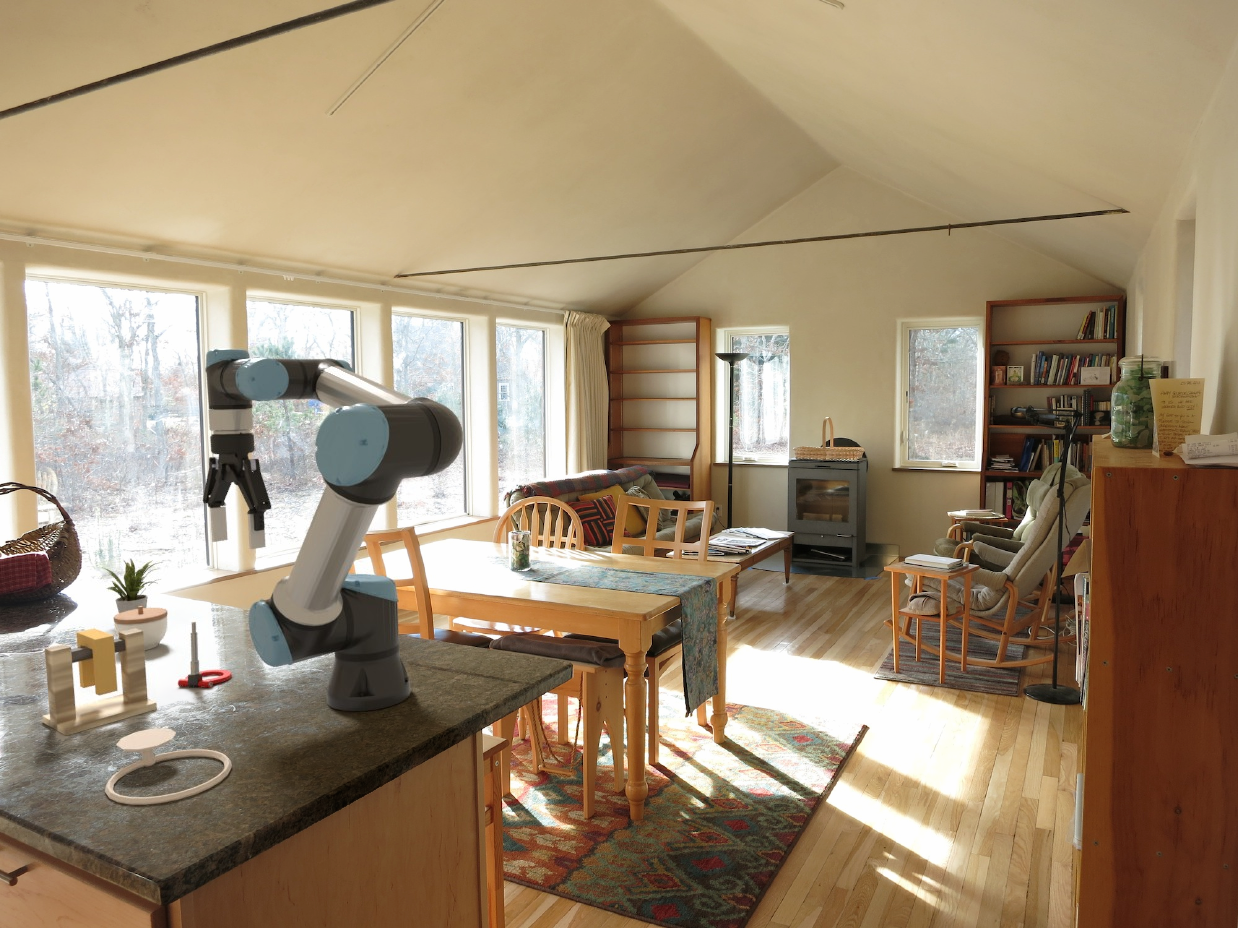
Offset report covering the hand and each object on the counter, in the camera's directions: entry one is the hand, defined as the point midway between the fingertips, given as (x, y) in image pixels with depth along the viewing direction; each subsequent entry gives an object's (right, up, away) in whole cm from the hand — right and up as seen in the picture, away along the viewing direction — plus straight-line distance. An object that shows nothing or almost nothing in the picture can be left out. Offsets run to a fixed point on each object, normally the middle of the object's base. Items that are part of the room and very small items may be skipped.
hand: (238, 544), depth 166 cm
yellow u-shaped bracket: (-21, -25, -9) cm, 34 cm away
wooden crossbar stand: (-21, -30, -9) cm, 38 cm away
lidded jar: (-36, -27, +34) cm, 56 cm away
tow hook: (-10, -28, +10) cm, 32 cm away
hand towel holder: (+3, -32, -33) cm, 46 cm away
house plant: (-49, -25, +55) cm, 77 cm away
